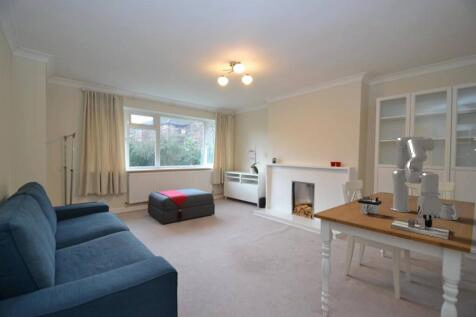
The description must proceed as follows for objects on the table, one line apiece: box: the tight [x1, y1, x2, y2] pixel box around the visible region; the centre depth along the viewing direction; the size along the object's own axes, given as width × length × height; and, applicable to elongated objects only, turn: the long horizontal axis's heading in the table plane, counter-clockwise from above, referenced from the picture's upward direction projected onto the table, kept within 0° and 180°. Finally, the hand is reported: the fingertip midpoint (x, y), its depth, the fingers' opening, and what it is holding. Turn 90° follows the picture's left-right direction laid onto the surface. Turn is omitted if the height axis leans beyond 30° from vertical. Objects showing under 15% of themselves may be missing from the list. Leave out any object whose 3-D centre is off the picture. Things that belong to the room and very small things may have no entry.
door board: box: [390, 217, 450, 240], centre depth 132 cm, size 18×25×6 cm
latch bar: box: [416, 216, 425, 230], centre depth 131 cm, size 13×3×4 cm, turn 148°
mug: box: [439, 202, 459, 221], centre depth 151 cm, size 8×12×12 cm, turn 176°
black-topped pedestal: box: [357, 195, 382, 215], centre depth 165 cm, size 28×26×13 cm
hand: (428, 226), depth 128 cm, fingers closed
